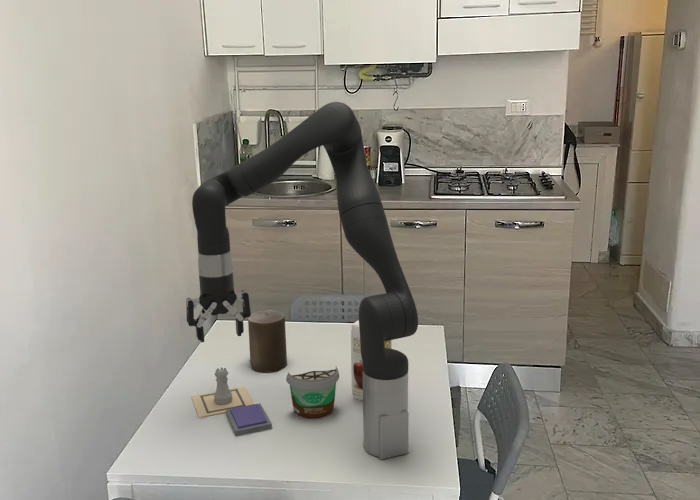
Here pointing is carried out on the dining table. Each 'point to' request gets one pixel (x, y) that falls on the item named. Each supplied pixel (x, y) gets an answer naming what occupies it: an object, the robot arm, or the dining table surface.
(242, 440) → the dining table surface
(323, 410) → the food container
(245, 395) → the marked card
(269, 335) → the pillar candle
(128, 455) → the dining table surface
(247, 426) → the ink pad
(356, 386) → the juice carton
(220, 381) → the rook chess piece
